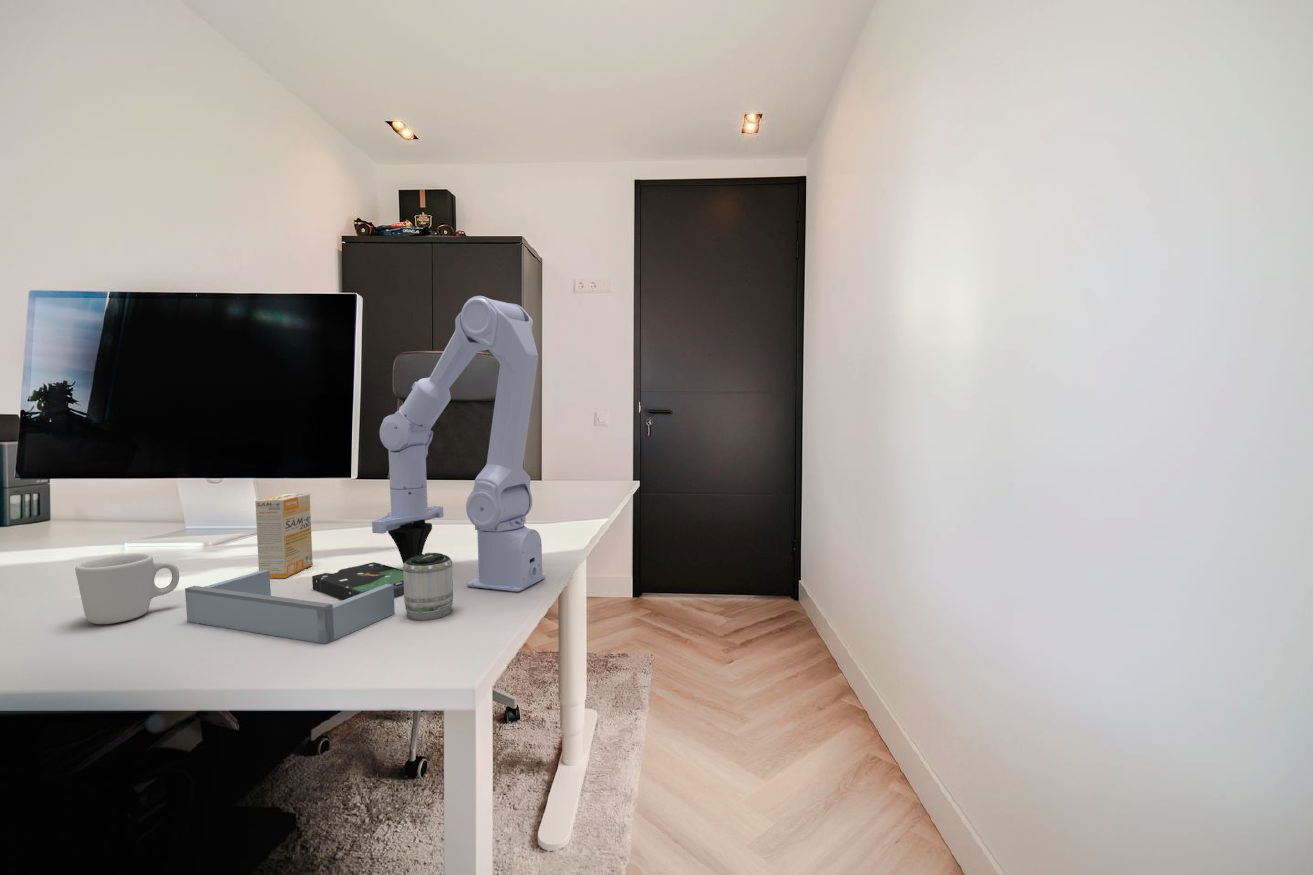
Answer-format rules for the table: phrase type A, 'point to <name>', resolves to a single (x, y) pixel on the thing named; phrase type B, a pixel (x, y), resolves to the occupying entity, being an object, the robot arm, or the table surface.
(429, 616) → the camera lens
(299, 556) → the supplement box
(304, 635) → the frame
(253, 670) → the table surface
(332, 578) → the disk drive
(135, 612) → the cup
